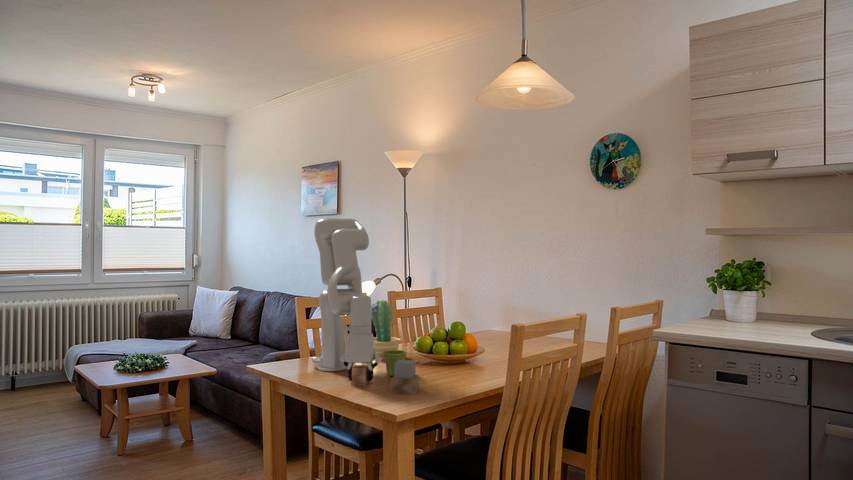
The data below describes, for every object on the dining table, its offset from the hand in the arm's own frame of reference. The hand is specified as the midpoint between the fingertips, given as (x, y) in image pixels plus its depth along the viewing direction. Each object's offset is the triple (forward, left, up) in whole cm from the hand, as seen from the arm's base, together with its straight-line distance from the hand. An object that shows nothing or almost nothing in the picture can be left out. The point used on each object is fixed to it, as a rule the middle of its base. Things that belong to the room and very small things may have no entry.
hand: (360, 379), depth 209 cm
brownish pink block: (0, 0, -1) cm, 1 cm away
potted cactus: (-4, +47, -1) cm, 47 cm away
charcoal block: (+18, -8, +4) cm, 20 cm away
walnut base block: (+18, -8, -1) cm, 20 cm away
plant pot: (+9, +15, -1) cm, 18 cm away
